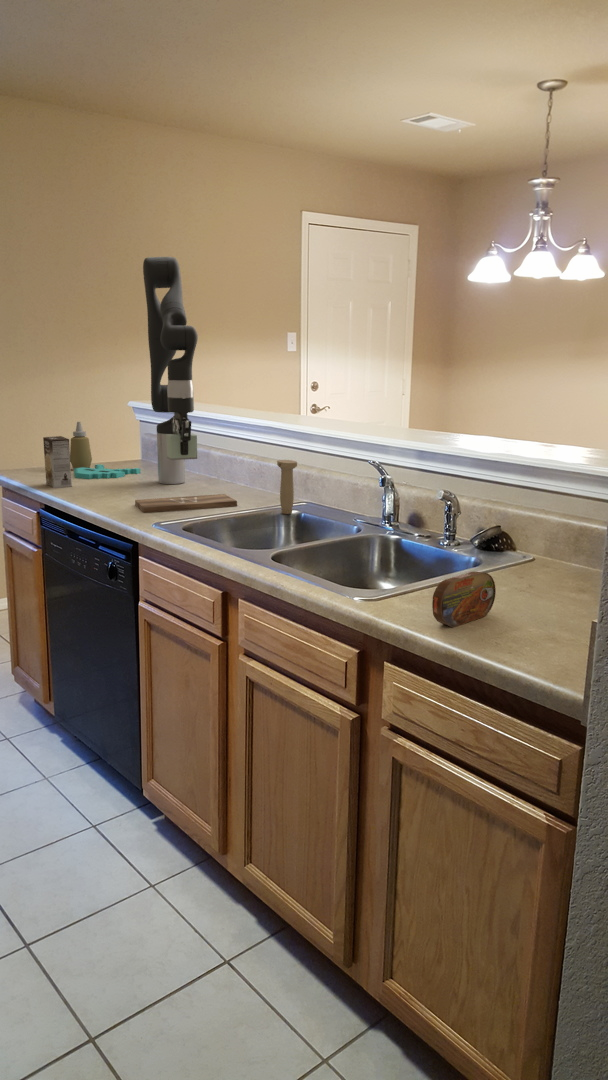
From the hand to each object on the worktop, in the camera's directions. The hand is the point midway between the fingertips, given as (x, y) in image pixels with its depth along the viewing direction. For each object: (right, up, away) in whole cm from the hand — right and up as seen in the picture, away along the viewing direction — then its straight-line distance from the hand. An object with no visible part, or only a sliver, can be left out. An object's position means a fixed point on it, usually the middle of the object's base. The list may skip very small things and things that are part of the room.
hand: (182, 453), depth 240 cm
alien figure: (-38, -3, +55) cm, 66 cm away
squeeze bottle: (-48, +1, +65) cm, 81 cm away
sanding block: (0, -1, 0) cm, 1 cm away
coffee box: (-46, -8, +32) cm, 57 cm away
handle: (+31, -18, -8) cm, 37 cm away
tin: (+65, -40, -96) cm, 123 cm away
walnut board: (+1, -15, +1) cm, 16 cm away
